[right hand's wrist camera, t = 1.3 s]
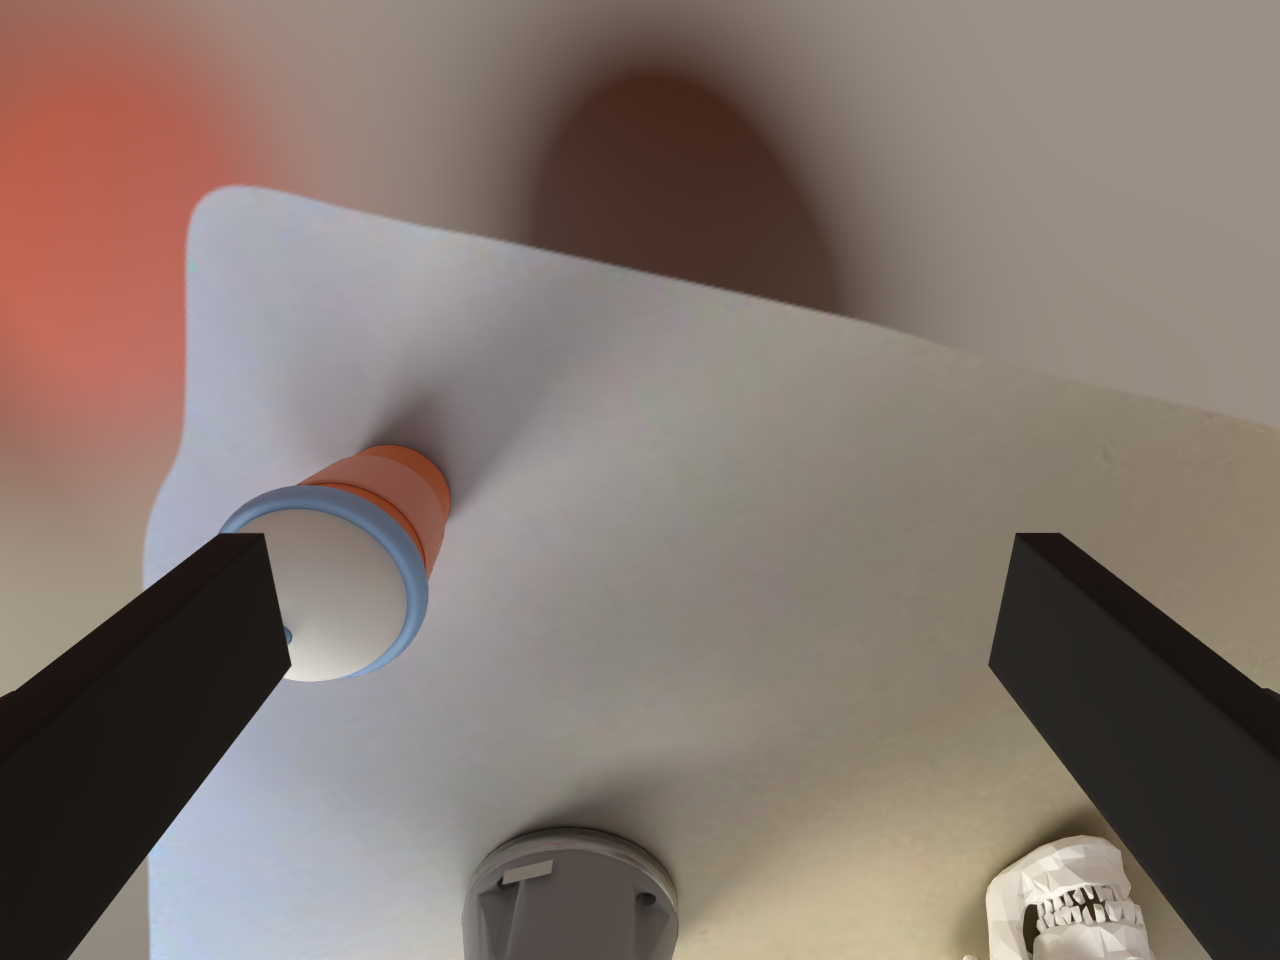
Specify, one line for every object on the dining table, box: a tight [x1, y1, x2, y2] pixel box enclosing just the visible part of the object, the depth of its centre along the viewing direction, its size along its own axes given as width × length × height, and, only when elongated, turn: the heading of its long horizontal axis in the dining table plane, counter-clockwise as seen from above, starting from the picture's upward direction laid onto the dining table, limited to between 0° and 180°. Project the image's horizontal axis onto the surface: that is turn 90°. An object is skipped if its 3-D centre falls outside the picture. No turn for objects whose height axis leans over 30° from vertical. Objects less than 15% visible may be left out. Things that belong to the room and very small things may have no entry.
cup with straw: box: [218, 445, 450, 681], centre depth 31 cm, size 9×9×18 cm
